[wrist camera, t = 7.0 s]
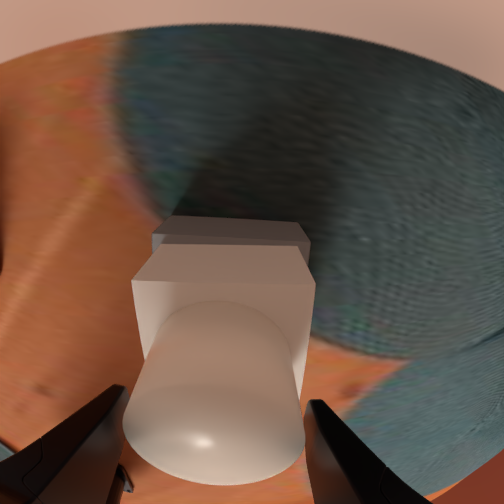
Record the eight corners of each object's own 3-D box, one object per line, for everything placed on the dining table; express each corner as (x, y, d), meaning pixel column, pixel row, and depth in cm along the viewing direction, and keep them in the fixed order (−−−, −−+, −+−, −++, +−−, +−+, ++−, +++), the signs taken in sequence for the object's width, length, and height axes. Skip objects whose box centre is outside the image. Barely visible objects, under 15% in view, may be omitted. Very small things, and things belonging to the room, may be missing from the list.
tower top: (287, 356, 16) (297, 412, 12) (172, 353, 16) (155, 407, 12) (297, 246, 14) (315, 284, 10) (161, 243, 14) (131, 280, 10)
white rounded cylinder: (280, 406, 12) (290, 486, 8) (161, 398, 12) (139, 474, 8) (298, 303, 10) (323, 386, 6) (148, 293, 10) (104, 369, 6)
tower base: (284, 329, 20) (291, 368, 16) (174, 322, 19) (160, 360, 16) (297, 221, 17) (310, 242, 14) (171, 214, 17) (151, 233, 13)
